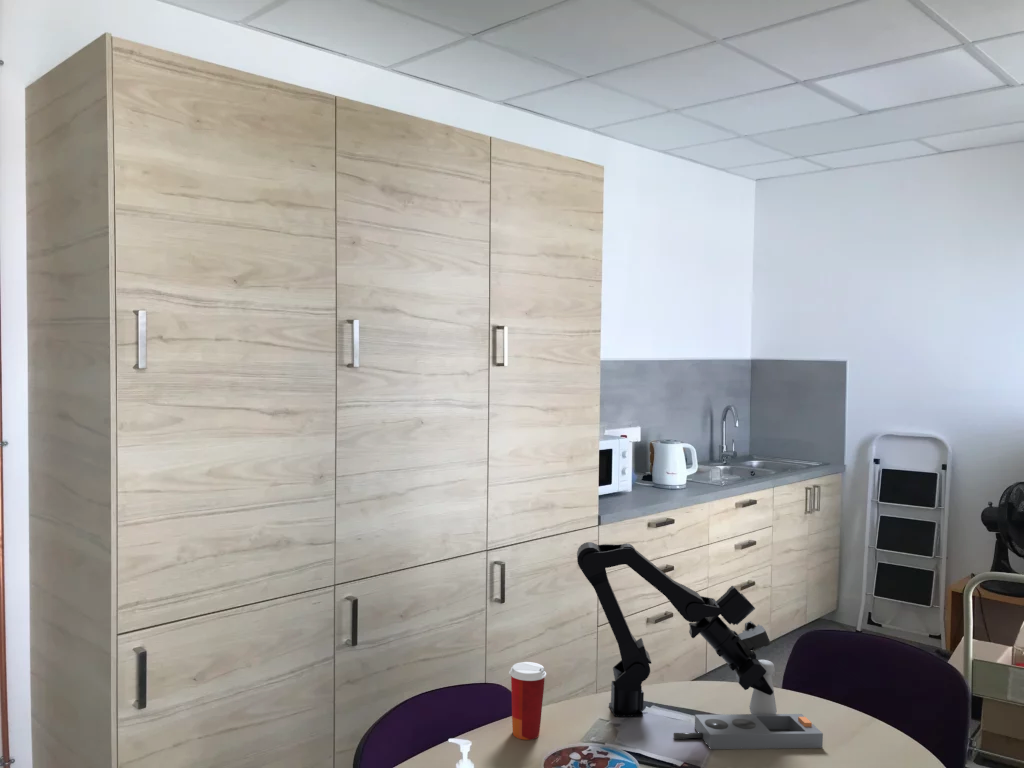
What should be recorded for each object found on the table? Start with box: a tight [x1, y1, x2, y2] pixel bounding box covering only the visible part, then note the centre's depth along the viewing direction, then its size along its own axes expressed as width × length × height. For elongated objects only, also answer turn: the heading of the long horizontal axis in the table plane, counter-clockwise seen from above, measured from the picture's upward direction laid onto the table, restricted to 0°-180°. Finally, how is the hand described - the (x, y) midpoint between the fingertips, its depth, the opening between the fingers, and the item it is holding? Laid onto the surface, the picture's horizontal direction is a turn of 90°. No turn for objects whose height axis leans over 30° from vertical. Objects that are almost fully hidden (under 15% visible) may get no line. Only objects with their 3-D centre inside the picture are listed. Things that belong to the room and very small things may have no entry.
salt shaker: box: [749, 659, 778, 714], centre depth 178 cm, size 6×6×13 cm
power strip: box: [672, 713, 824, 750], centre depth 168 cm, size 30×10×4 cm, turn 95°
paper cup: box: [508, 661, 547, 741], centre depth 167 cm, size 8×8×14 cm
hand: (769, 690), depth 178 cm, fingers closed on salt shaker, 3 cm apart
